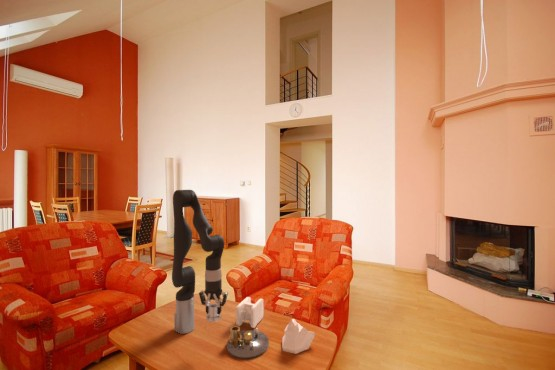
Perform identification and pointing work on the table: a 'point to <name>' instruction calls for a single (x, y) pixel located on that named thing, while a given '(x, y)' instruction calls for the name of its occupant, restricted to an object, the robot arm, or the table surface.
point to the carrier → (249, 345)
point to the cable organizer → (249, 312)
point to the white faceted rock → (296, 338)
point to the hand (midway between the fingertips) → (213, 313)
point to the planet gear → (213, 313)
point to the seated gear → (235, 335)
